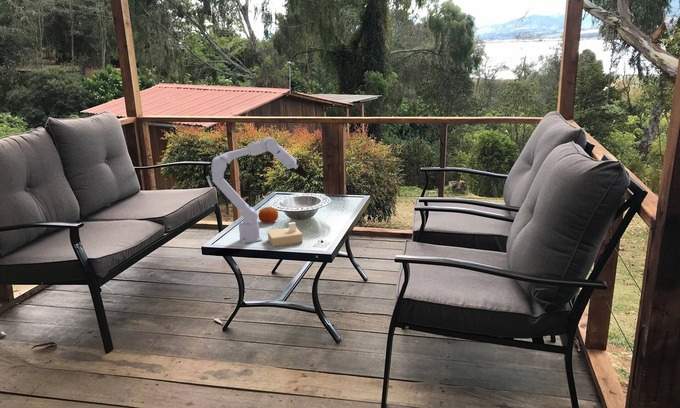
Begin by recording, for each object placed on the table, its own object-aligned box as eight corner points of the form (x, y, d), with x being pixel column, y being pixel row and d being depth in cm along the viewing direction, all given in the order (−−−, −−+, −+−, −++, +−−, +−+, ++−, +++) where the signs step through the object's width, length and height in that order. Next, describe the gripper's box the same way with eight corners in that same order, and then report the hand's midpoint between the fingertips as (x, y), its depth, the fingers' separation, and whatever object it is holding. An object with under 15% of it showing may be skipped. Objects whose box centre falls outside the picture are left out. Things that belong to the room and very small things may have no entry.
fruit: (270, 218, 282) (269, 204, 280) (282, 221, 275) (281, 207, 273) (255, 222, 275) (253, 208, 273) (266, 226, 268) (265, 211, 266)
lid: (272, 239, 233) (271, 229, 232) (267, 231, 245) (266, 222, 244) (302, 234, 238) (301, 225, 236) (296, 227, 249) (295, 218, 248)
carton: (273, 247, 235) (272, 239, 234) (268, 239, 246) (267, 232, 245) (302, 243, 239) (301, 235, 238) (296, 235, 250) (295, 228, 249)
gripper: (293, 152, 235) (313, 171, 240) (286, 149, 249) (306, 168, 253) (282, 163, 235) (304, 182, 239) (277, 160, 248) (297, 178, 253)
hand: (304, 175), depth 246 cm, fingers open, 7 cm apart
